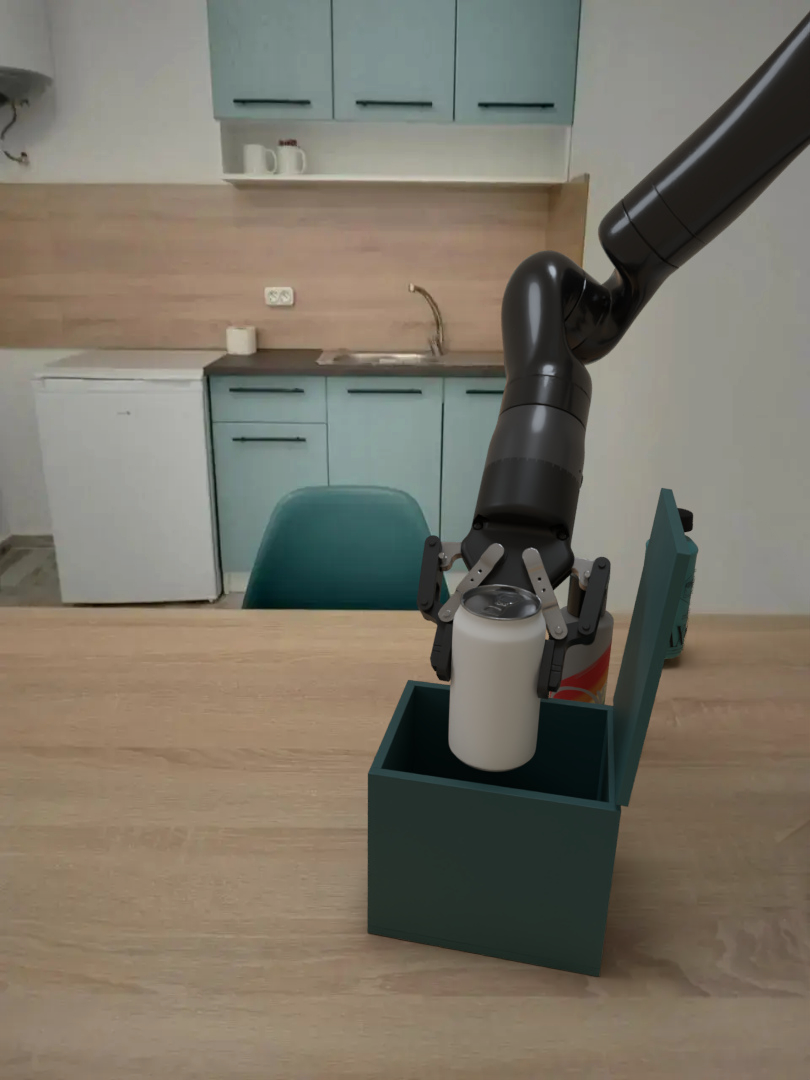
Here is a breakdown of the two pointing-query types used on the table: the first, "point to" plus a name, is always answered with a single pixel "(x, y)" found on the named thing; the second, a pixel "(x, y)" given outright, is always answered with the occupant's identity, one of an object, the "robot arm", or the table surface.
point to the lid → (648, 640)
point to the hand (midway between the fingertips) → (492, 686)
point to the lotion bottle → (585, 654)
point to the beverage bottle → (683, 591)
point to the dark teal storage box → (494, 837)
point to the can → (495, 677)
